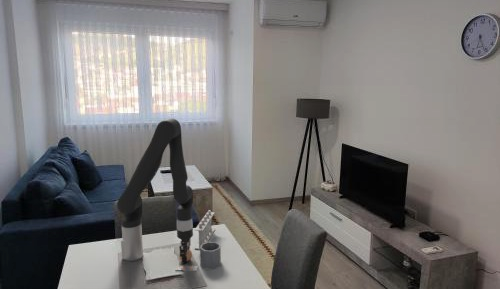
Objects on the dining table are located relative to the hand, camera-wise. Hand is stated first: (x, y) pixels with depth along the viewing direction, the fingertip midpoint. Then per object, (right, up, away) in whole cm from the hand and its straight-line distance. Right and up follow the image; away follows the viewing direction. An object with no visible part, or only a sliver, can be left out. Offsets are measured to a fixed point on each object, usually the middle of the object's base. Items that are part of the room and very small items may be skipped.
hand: (185, 259), depth 169 cm
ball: (0, +2, 0) cm, 2 cm away
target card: (+2, -2, -7) cm, 7 cm away
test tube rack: (+7, +3, +24) cm, 25 cm away
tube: (+12, -1, -2) cm, 13 cm away
